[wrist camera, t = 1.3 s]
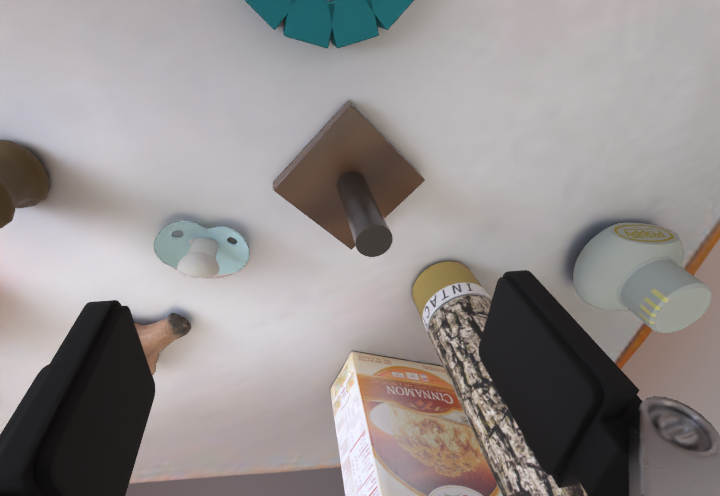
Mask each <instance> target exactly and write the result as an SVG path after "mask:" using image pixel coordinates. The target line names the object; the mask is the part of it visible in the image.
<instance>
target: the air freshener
mask: <svg viewBox="0 0 720 496" xmlns="http://www.w3.org/2000/svg"><path fill="white" fill-rule="evenodd" d="M683 255H684V251H683V246H682V242H681V240H680V238H679V236H678V235H677V234H676V233H675V232H673V231H671V230H669V229H666V228H663V227H660V226H656V225H651V224H644V223H618V224H615V225H612V226H610V227H608V228H606V229H604V230H603V231H601V232H600V233H598V234H597V235H596V236H595V237H593V238H592V239H591V240H590V241H589V242H588V243H587V244H586V246H585V247H584V248H583V250H582V251H581V253H580V254H579V256H578V258H577V261H576V263H575V267H574V271H573V282H574V287H575V290H576V292H577V294H578V296H579V297H580V298H581V299H582V300H583V301H584V302H585V303H587V304H589V305H591V306H593V307H596V308H599V309H603V310H609V311H632V312H633V313H634V314H635V315H636V316H637V317H639V318H640V319H641V320H642V321H643V322H644V323H645V324H647V325H648V326H649V327H650V328H651V329H652V330H654V331H656V332H660V333H670V332H675V331H678V330H681V329H683V328H685V327H687V326H689V325H690V324H692V323H693V322H695V321H696V320H697V319H699V318H700V316H701V315H703V313H704V312H705V311H706V310H707V308H708V306H709V305H710V302H711V289H710V288H709V287H708V286H707V285H706V284H704V283H703V282H701V281H700V280H699V279H697V278H696V277H694V276H693V275H691V274H690V273H688V272H687V271H686V270H684V269H683V268H681V267H682V263H683Z"/></svg>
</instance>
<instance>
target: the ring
mask: <svg viewBox="0 0 720 496" xmlns="http://www.w3.org/2000/svg"><path fill="white" fill-rule="evenodd" d="M245 1H246V2H247V3H248V4H249V5H250V6H251V7H252V8H253V9H254V10H255V11H256V12H257V13H258V14H259V15H260V16H261V17H262V18H263V19H264V20H265V21H266V22H267V23H268V24H269V25H270V26H271V27H272V28H273V29H274V30H275V29H276V28H277V27H278V26H279V24H280V23H281V22H282V21H283V19H284V18H285V23H284V29H283V32H284V36H286V37H290V38H293V39H297V40H300V41H304V42H307V43H311V44H314V45H318V46H321V47H324V48H328V46H329V41H330V36H331V40H332V44H333V45H335V46H336V47H337V48H340V47H343V46H347V45H350V44H353V43H356V42H360V41H363V40H366V39H369V38H372V37H376V36H378V35H379V33H378V28H377V26H378V27H380V28H383V29H386V30H388V29H389V28H390V26H391V25H392V24H393V23H394V22H395V21H396V20H397V19H398V18H399V16H400V15H401V14H402V13H403V12H404V11H405V10H406V9H407V7H408V6H409V5H410V4H411V3H412V2H413V1H414V0H330V1H327V0H245Z"/></svg>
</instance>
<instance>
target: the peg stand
mask: <svg viewBox="0 0 720 496" xmlns="http://www.w3.org/2000/svg"><path fill="white" fill-rule="evenodd" d="M424 181H425V179H424V178H423V177H422V176H421V174H420V173H419V172H418V171H417V170H416V169H415V168H414V167H413V166H412V165H411V164H410V163H409V162H408V161H407V160H406V159H405V158H404V157H403V156H402V155H401V154H400V153H399V152H398V151H397V150H396V149H395V148H394V147H393V146H392V145H391V144H390V143H389V142H388V141H387V140H386V139H385V138H384V136H383V135H382V134H381V133H380V132H379V131H378V130H377V129H376V128H375V127H374V126H373V125H372V124H371V123H370V122H369V121H368V120H367V119H366V118H365V117H364V116H363V115H362V114H361V113H360V112H359V111H358V110H357V109H356V108H355V107H354V106H353V105H352V104H351V103H350V102H349V101H347V103H346V104H345V105H344V106H343V107H342V108H341V109H340V110H339V111H338V112H337V113H336V115H335V116H334V117H333V118H332V119H331V120H330V121H329V122H328V123H327V124H326V125H325V127H324V128H323V129H322V130H321V131H320V132H319V133H318V134H317V135H316V136H315V137H314V139H313V140H312V141H311V142H310V143H309V144H308V145H307V146H306V147H305V148H304V149H303V151H302V152H301V153H300V154H299V155H298V156H297V157H296V158H295V159H294V160H293V161H292V163H291V164H290V165H289V166H288V167H287V168H286V169H285V170H284V171H283V172H282V173H281V174H280V176H279V177H278V178H277V179H276V180H275V181H274V182H273V190H274V191H275V192H277V193H278V194H279V195H281V196H282V197H283V198H284V199H286V200H287V201H288V202H290V203H291V204H292V205H294V206H295V207H296V208H298V209H299V210H300V211H301V212H303V213H304V214H305V215H307V216H308V217H309V218H311V219H312V220H313V221H315V222H316V223H317V224H319V225H320V226H321V227H322V228H324V229H325V230H326V231H328V232H329V233H330V234H332V235H333V236H334V237H336V238H337V239H338V240H340V241H341V242H342V243H343V244H345V245H346V246H347V247H349V248H350V249H352V248H353V247H355V246H356V248H357V250H358V251H359V252H360V253H361V254H363V255H365V256H369V257H375V256H379V255H381V254H383V253H385V252H386V251H387V250H388V249H389V247H390V246H391V243H392V234H391V232H390V230H389V227H388V225H387V223H386V221H385V219H384V218H385V217H386V216H387V215H389V214H390V213H391V212H392V211H393V210H394V209H395V208H396V207H397V206H398V205H399V204H400V203H401V202H402V201H403V200H404V199H405V198H407V197H408V196H409V195H410V194H411V193H412V192H413V191H414V190H415V189H416V188H417V187H418V186H419V185H420V184H421V183H422V182H424Z"/></svg>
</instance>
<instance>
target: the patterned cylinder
mask: <svg viewBox="0 0 720 496" xmlns="http://www.w3.org/2000/svg"><path fill="white" fill-rule="evenodd" d="M412 296H413V301H414V303H415V305H416V307H417V310H418V312H419V314H420V316H421V318H422V321H423V323H424V326H425V328H426V330H427V332H428V334H429V336H430V339H431V341H432V343H433V345H434V347H435V350H436V352H437V354H438V356H439V358H440V361H441V363H442V365H443V367H444V369H445V372H446V374H447V376H448V378H449V380H450V382H451V385H452V387H453V389H454V391H455V393H456V396H457V398H458V400H459V402H460V404H461V407H462V409H463V411H464V413H465V415H466V418H467V420H468V422H469V424H470V426H471V428H472V431H473V433H474V435H475V437H476V439H477V442H478V444H479V446H480V448H481V450H482V453H483V455H484V457H485V459H486V461H487V464H488V466H489V468H490V470H491V472H492V474H493V477H494V479H495V481H496V483H497V485H498V488H499V490H500V492H501V494H502V496H586V492H585V490H584V489H583V487H582V486H581V484H579V485H574V486H569V487H563V488H558V486H557V485H556V483H555V481H554V479H553V478H552V476H551V475H548V474H546V473H545V472H544V471H543V469H542V468H541V466H540V464H539V462H538V461H537V459H536V457H535V455H534V454H533V452H532V450H531V448H530V447H529V445H528V443H527V441H526V439H525V438H524V436H523V434H522V432H521V431H520V429H519V427H518V425H517V424H516V422H515V420H514V418H513V416H512V415H511V413H510V411H509V409H508V408H507V406H506V404H505V402H504V400H503V399H502V397H501V395H500V393H499V392H498V390H497V388H496V386H495V385H494V383H493V381H492V379H491V377H490V376H489V374H488V372H487V370H486V369H485V367H484V365H483V363H482V362H481V359H480V357H479V352H478V348H479V344H480V340H481V337H482V333H483V330H484V326H485V323H486V320H487V316H488V313H489V309H490V306H491V302H492V299H491V298H490V297H489V295H488V294H487V292H486V291H485V290H484V289H483V287H482V286H481V285H480V283H479V282H478V280H477V279H476V278H475V276H474V275H473V273H472V272H471V271H470V269H469V268H468V267H466V266H465V265H463V264H461V263H458V262H452V261H446V262H440V263H437V264H434V265H432V266H430V267H428V268H427V269H425V270H424V271H423V272H422V273H421V274H420V275H419V277H418V278H417V280H416V281H415V284H414V286H413V290H412Z"/></svg>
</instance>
